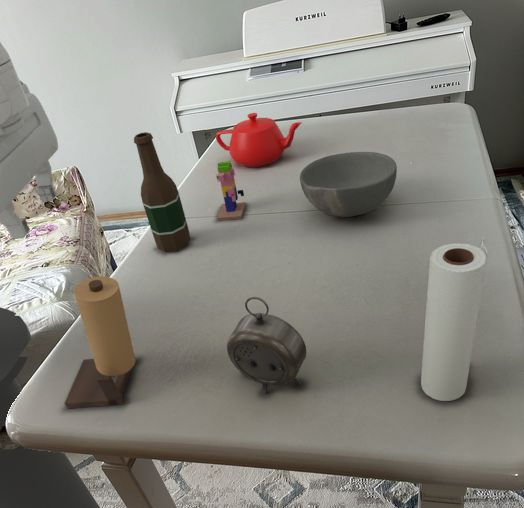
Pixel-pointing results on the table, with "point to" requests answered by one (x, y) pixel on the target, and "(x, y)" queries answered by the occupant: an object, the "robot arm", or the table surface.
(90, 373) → the stand
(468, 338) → the paper towel roll
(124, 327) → the tan cylinder
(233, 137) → the teapot
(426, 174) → the table surface
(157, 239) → the beer bottle
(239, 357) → the alarm clock
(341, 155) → the bowl
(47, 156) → the robot arm
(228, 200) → the figurine
